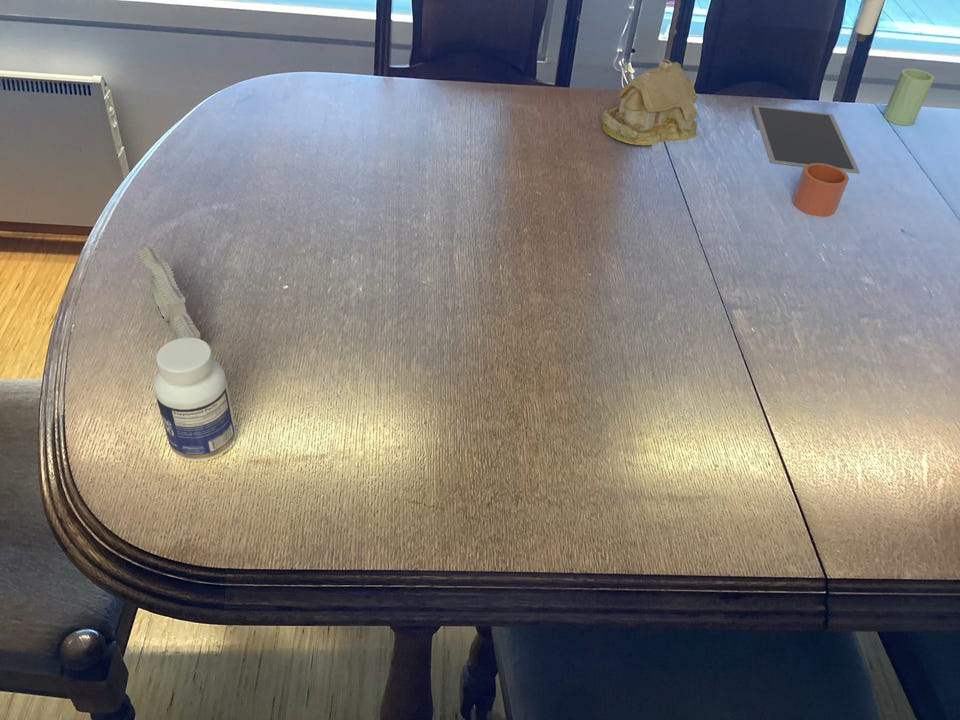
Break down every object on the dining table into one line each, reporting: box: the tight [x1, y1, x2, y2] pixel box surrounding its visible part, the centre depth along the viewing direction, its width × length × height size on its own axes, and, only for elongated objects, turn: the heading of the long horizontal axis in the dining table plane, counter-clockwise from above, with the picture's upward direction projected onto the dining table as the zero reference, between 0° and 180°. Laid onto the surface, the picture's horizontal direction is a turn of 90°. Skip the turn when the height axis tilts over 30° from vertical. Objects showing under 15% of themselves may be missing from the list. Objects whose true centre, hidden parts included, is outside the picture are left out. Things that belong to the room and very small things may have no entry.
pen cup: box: [882, 67, 935, 126], centre depth 124 cm, size 5×5×7 cm
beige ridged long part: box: [137, 245, 202, 340], centre depth 77 cm, size 12×2×6 cm, turn 33°
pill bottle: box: [153, 337, 237, 461], centre depth 65 cm, size 5×5×10 cm
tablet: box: [751, 104, 861, 175], centre depth 118 cm, size 12×18×1 cm, turn 173°
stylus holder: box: [791, 163, 850, 218], centre depth 102 cm, size 5×5×5 cm
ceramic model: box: [600, 58, 698, 146], centre depth 114 cm, size 14×11×10 cm
